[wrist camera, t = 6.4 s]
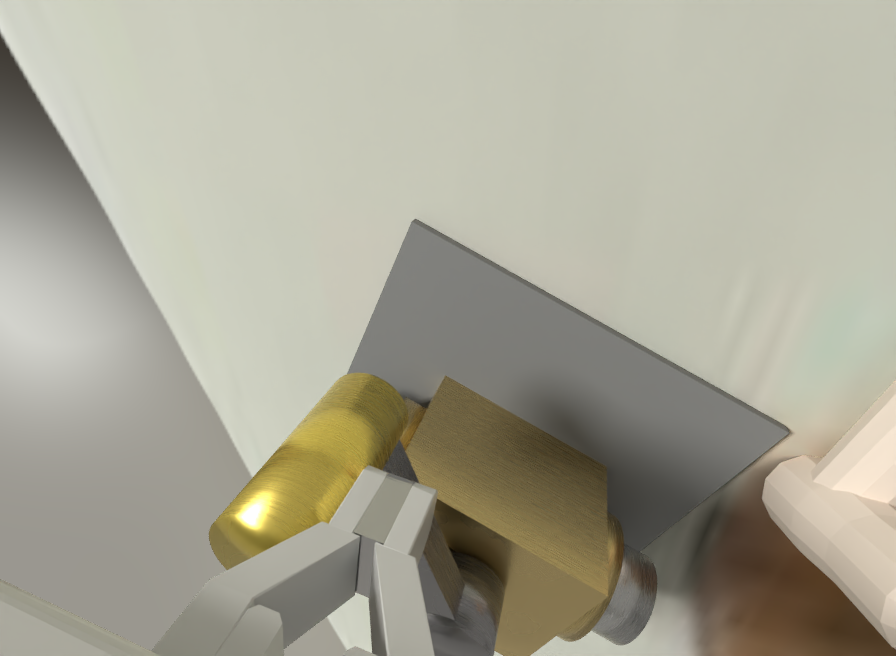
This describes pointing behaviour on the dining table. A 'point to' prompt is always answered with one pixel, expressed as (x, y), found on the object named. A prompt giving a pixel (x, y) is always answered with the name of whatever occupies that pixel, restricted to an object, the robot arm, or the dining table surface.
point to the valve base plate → (560, 380)
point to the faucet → (847, 512)
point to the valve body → (529, 521)
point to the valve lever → (325, 487)
